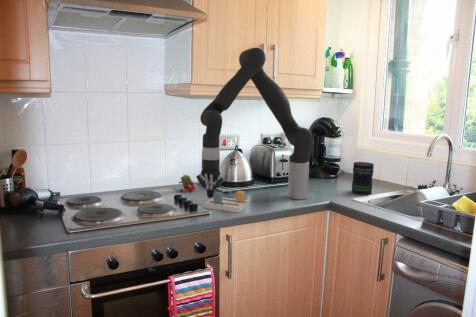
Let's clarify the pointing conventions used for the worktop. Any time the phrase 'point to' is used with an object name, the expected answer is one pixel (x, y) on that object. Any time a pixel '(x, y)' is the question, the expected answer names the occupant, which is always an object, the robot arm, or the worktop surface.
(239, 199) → the fader orange
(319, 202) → the worktop surface
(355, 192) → the storage jar
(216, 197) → the fader teal
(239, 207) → the console
